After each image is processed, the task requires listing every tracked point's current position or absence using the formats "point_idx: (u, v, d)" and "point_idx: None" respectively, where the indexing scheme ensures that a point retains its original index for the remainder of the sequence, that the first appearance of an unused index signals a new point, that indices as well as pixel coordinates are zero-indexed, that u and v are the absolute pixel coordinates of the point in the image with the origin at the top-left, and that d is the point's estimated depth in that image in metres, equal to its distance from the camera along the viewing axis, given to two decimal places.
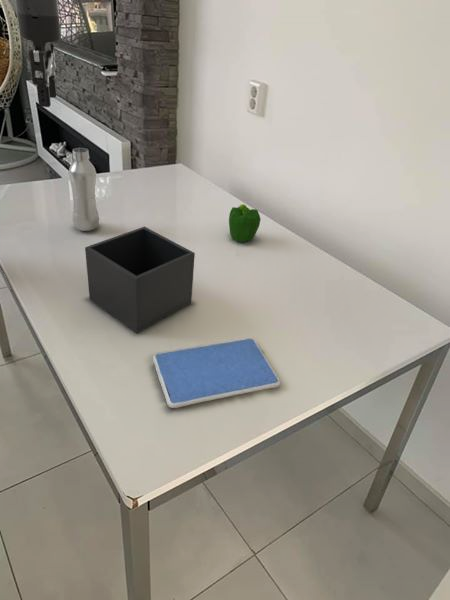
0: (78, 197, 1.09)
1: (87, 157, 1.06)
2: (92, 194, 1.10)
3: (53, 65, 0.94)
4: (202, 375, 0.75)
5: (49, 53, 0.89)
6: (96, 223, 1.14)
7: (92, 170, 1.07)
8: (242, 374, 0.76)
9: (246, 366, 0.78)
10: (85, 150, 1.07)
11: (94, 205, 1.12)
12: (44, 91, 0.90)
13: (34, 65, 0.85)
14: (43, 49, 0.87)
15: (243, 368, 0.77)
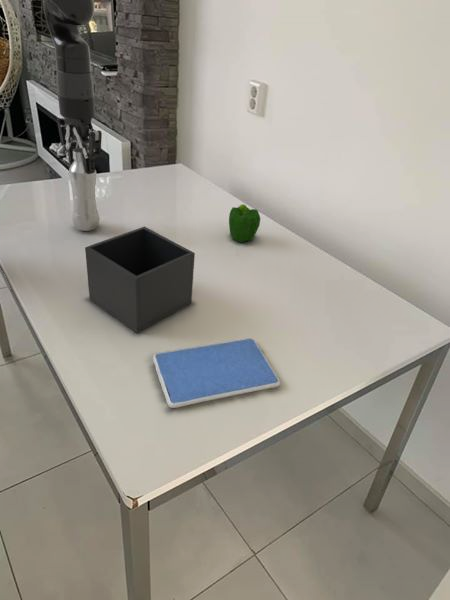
0: (78, 197, 1.09)
1: None
2: (92, 194, 1.10)
3: None
4: (202, 375, 0.75)
5: None
6: (96, 223, 1.14)
7: None
8: (242, 374, 0.76)
9: (246, 366, 0.78)
10: None
11: (94, 205, 1.12)
12: (93, 161, 1.04)
13: (94, 144, 1.00)
14: (91, 125, 1.00)
15: (243, 368, 0.77)
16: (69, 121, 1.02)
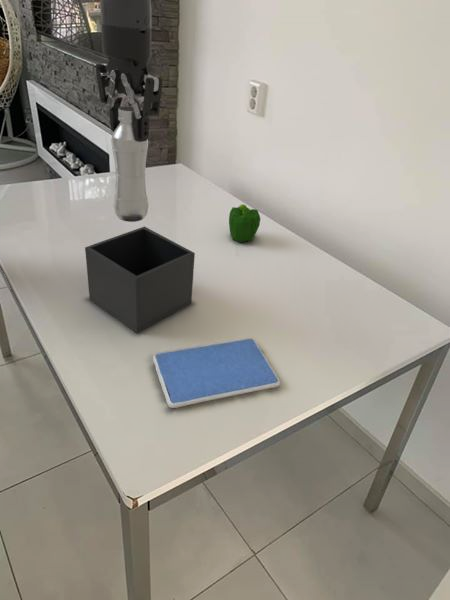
0: (124, 175, 0.80)
1: None
2: (142, 171, 0.81)
3: None
4: (202, 375, 0.75)
5: None
6: (145, 211, 0.85)
7: None
8: (242, 374, 0.76)
9: (246, 366, 0.78)
10: None
11: (144, 187, 0.83)
12: (147, 123, 0.75)
13: (152, 96, 0.70)
14: (147, 70, 0.71)
15: (243, 368, 0.77)
16: (114, 66, 0.72)
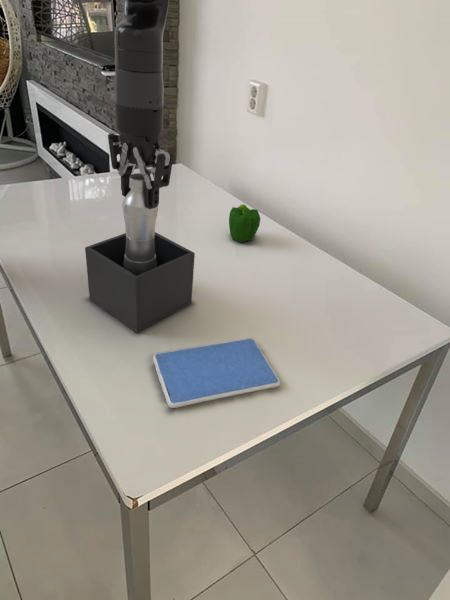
0: (134, 238, 0.82)
1: None
2: (152, 234, 0.83)
3: None
4: (202, 375, 0.75)
5: None
6: None
7: None
8: (242, 374, 0.76)
9: (246, 366, 0.78)
10: None
11: (153, 247, 0.85)
12: (157, 192, 0.77)
13: (163, 170, 0.72)
14: (159, 144, 0.73)
15: (243, 368, 0.77)
16: (127, 138, 0.74)
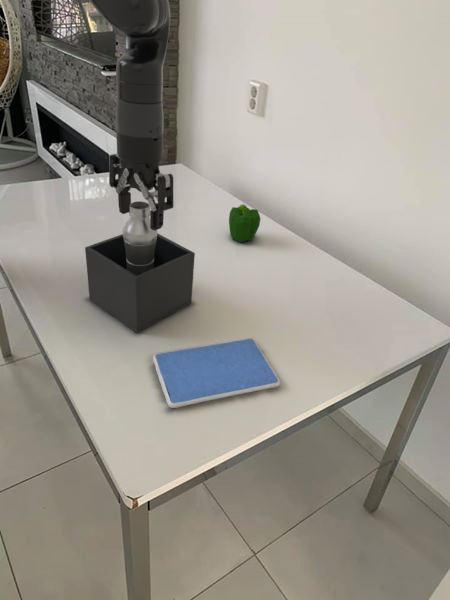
0: (134, 263, 0.85)
1: (148, 214, 0.81)
2: (151, 259, 0.86)
3: None
4: (202, 375, 0.75)
5: None
6: None
7: None
8: (242, 374, 0.76)
9: (246, 366, 0.78)
10: (145, 204, 0.82)
11: None
12: (162, 214, 0.78)
13: (165, 192, 0.74)
14: (159, 170, 0.75)
15: (243, 368, 0.77)
16: (128, 164, 0.77)
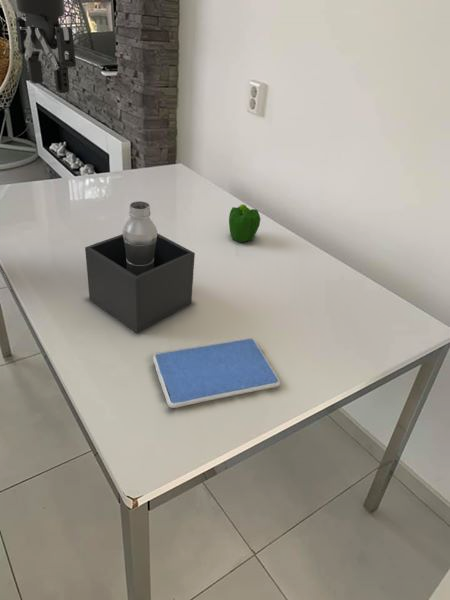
0: (134, 263, 0.85)
1: (148, 214, 0.81)
2: (151, 259, 0.86)
3: None
4: (202, 375, 0.75)
5: None
6: None
7: (154, 229, 0.83)
8: (242, 374, 0.76)
9: (246, 366, 0.78)
10: (145, 204, 0.82)
11: None
12: (66, 74, 0.79)
13: (64, 45, 0.75)
14: (59, 25, 0.76)
15: (243, 368, 0.77)
16: (31, 22, 0.78)
